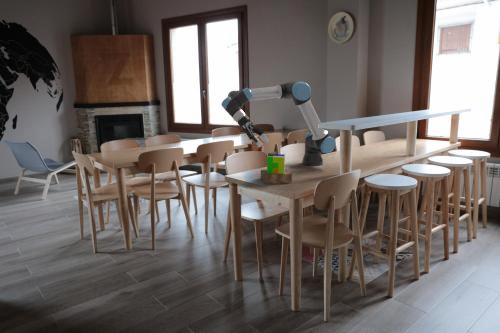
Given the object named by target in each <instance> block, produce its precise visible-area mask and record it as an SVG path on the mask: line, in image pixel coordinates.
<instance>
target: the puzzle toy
mask: <svg viewBox="0 0 500 333" xmlns="http://www.w3.org/2000/svg"><path fill="white" fill-rule="evenodd" d="M285 156H286V155H285V153H282V154H281V153H279V154H277V153H268V154H267V156H266V160H267V161H266V162H267V163H266V166H267V167H266V168H267V169H266V170H267V174H284V169H285V162H286V160H285Z"/></svg>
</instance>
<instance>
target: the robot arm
mask: <svg viewBox="0 0 500 333" xmlns="http://www.w3.org/2000/svg"><path fill="white" fill-rule="evenodd" d="M311 94H312V88H311V86H310V85H309V84H308V83H307V82H304V81H288V82H285V83H279V84H276V85H275V86H267V87H258V88H248V87H245V88H243V89H239V90H231V91H229V92H228V93H227V97H226V98H225V99H223V101H222V102H221V107H222V108H223V109H224V111H225V112H227V114H228V115H229V116H230V117H231V118H232V119H233V121H235V123H237V125H238V126H239V127H240V128H241V129H243V131H244V133H245V134H246V136H247V137H248V139H249V140H250V141H253V143H255V144H256V146H258V148H259V149H260V148H261V147H262V146H264V144H263V142H264V143H265V144H266V145H268V144H269V143H270V141H271V140H269V139H268V137H267V136H266V135H265V132H264V131H263V130H261V128H259V127H258V126H257V125H255V124H254V122H252V121H251V118H250V117H249V116H248V115H247V114H246V113H245V112H244V110H243V109H242V107H243V106H244V105H245V104H247V103H248V102H252V101H260V100H268V99H278V100H281V99H285V100H292V101H293V103H294V105H295V106H296V107H299V110H300V113H301V114H302V116H303V119H304V121H305V122H306V125H307V126H308V128H309V130H310V132H306V133H305V134H304V135H305V136H304V153H303V154H304V155H303V157H302V160H301V163H302V165H306V166H322V165H323V164H324V159H323V157H322V153H323V154H330V153H331V152H333V151H334V149H335V147H336V145H337V144H336V140H335V138H334V137H332V136H330V133H329V131H328V130H326V129H325V128H324V129H322V128H318V124H319V123H321V124H322V122H321V119H320V118H319V115H318V114H317V112H316V110H315V108H314V105H313V103H312V101H311V100H312V96H311ZM254 133H255V134H256V135H258V136H259V138H260V139H261V140H262V141H263V142H261V140H260V139H259V138H258V137H257V136H256V135H255V134H254Z"/></svg>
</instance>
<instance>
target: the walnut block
mask: <svg viewBox="0 0 500 333" xmlns="http://www.w3.org/2000/svg"><path fill="white" fill-rule="evenodd" d="M260 179H261V180H262V181H263V182H264V183H265V184H267V185H276V184H279V185H280V184H288V183H289V184H291V183H292V184H293V182H292V180H293V173H292V172H290V171H288V170H286V169H285V168H284V174H267V169H260Z"/></svg>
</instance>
